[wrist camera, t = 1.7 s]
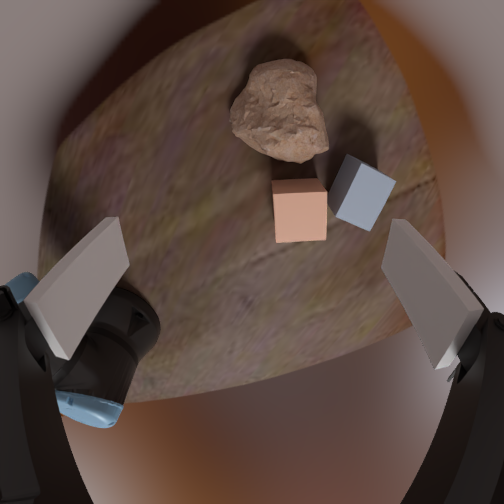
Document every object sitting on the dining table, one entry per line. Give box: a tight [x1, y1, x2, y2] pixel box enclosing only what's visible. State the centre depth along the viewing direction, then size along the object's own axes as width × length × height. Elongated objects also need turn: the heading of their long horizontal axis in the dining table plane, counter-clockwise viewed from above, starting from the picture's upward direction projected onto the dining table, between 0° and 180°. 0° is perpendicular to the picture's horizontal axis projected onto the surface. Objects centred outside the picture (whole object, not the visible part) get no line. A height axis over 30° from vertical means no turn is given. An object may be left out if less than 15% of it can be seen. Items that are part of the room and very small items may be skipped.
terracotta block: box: [272, 178, 327, 243], centre depth 34 cm, size 6×6×6 cm
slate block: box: [327, 154, 396, 231], centre depth 32 cm, size 5×7×6 cm
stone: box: [230, 59, 329, 164], centre depth 27 cm, size 12×9×10 cm
